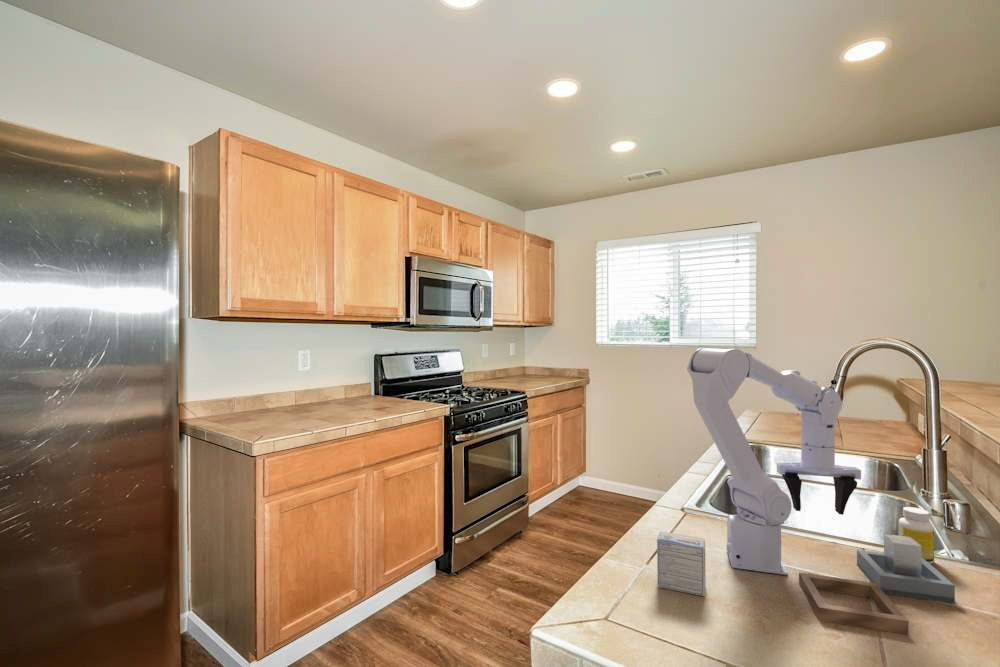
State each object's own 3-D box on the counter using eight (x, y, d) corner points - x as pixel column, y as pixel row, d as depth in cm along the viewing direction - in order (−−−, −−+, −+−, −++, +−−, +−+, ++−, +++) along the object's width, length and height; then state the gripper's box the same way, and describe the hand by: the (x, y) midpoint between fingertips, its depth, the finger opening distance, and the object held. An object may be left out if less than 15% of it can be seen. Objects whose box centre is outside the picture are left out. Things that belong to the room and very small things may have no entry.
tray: (880, 592, 83) (880, 575, 83) (857, 565, 93) (856, 549, 93) (954, 603, 80) (954, 585, 80) (922, 573, 90) (922, 557, 90)
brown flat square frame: (819, 619, 75) (818, 607, 75) (798, 583, 86) (798, 572, 86) (908, 634, 72) (908, 621, 72) (875, 594, 83) (875, 583, 83)
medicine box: (705, 585, 86) (705, 537, 86) (705, 598, 82) (704, 547, 82) (659, 576, 89) (659, 530, 89) (656, 587, 85) (656, 539, 85)
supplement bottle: (941, 566, 92) (941, 516, 92) (909, 564, 93) (908, 514, 94) (922, 554, 98) (922, 506, 98) (892, 551, 99) (892, 504, 99)
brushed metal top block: (894, 582, 85) (893, 542, 85) (884, 571, 89) (883, 534, 89) (921, 585, 84) (921, 546, 84) (910, 575, 88) (910, 536, 88)
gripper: (784, 447, 96) (784, 514, 96) (868, 451, 92) (868, 522, 92) (773, 439, 102) (774, 502, 102) (851, 443, 99) (852, 509, 99)
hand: (817, 511), depth 98 cm, fingers open, 7 cm apart
